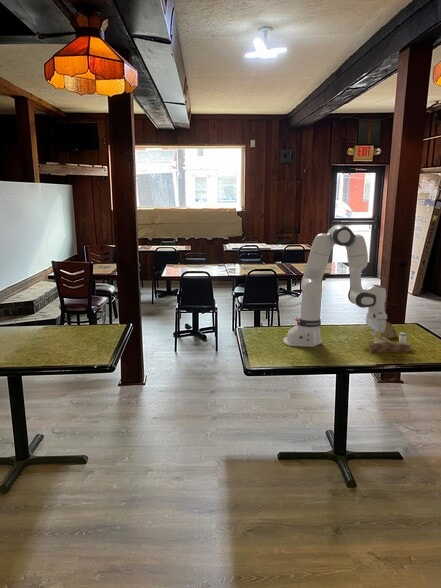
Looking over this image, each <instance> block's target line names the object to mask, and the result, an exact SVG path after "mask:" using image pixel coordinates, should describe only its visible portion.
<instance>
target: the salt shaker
mask: <svg viewBox="0 0 441 588" xmlns="http://www.w3.org/2000/svg"><path fill="white" fill-rule="evenodd" d="M398 335H399V337H398V338H399V340H398V343H407V335H408V333H407V332H402V331H400V332H399V334H398Z"/></svg>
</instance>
